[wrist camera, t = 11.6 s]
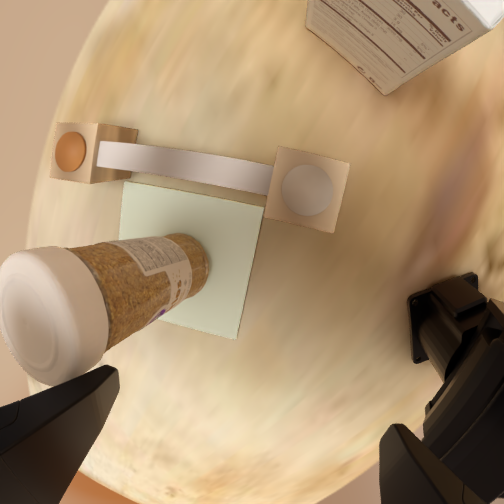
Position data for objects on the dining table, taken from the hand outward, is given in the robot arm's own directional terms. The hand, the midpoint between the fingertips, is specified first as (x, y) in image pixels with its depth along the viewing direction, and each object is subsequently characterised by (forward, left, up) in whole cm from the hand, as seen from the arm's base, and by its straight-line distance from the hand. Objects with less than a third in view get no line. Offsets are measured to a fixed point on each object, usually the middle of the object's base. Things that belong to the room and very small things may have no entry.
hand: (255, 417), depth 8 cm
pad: (+2, +6, -13) cm, 15 cm away
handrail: (+8, +2, -13) cm, 16 cm away
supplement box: (+14, -12, -13) cm, 23 cm away
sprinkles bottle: (+2, +6, -12) cm, 14 cm away
